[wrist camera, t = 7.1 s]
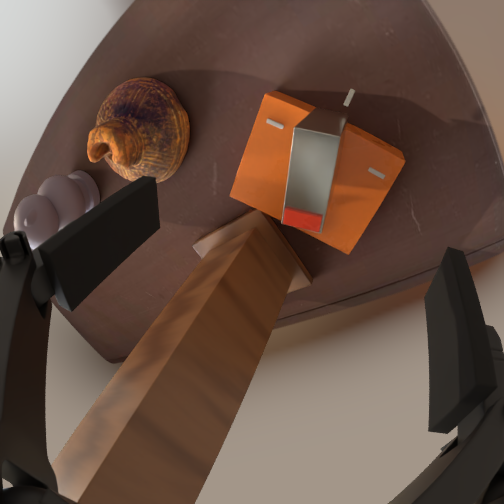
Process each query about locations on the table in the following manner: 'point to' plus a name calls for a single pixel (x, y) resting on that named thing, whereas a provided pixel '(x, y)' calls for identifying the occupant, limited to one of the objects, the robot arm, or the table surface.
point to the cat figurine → (55, 206)
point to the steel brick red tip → (313, 168)
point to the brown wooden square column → (185, 374)
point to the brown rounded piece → (141, 130)
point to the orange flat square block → (348, 179)
